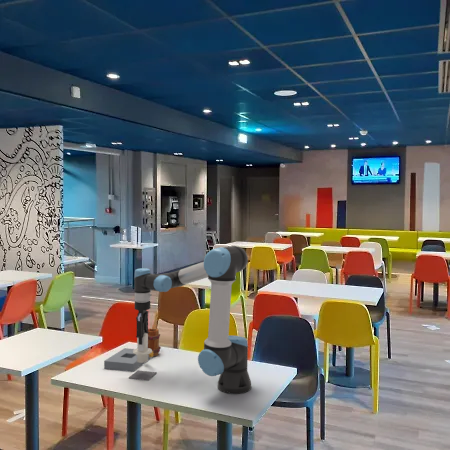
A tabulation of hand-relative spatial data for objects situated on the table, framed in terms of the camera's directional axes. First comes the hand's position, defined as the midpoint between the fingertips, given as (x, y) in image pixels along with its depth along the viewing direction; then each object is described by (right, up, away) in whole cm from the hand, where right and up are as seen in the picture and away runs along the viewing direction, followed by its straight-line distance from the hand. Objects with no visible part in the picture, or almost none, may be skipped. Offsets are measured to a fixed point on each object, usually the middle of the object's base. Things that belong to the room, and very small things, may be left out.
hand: (142, 348), depth 228 cm
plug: (0, -6, 0) cm, 6 cm away
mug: (0, -12, +35) cm, 37 cm away
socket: (-10, -12, +19) cm, 25 cm away
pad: (0, -13, 0) cm, 13 cm away
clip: (-1, -7, +17) cm, 18 cm away
